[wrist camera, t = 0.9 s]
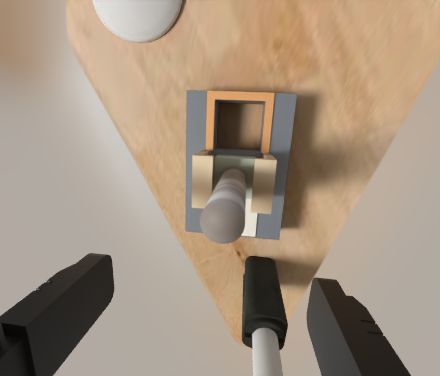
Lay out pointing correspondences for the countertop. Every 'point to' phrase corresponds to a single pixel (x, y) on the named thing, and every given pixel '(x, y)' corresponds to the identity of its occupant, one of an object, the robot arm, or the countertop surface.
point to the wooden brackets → (260, 189)
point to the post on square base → (228, 198)
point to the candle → (263, 316)
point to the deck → (269, 143)
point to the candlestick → (138, 17)
